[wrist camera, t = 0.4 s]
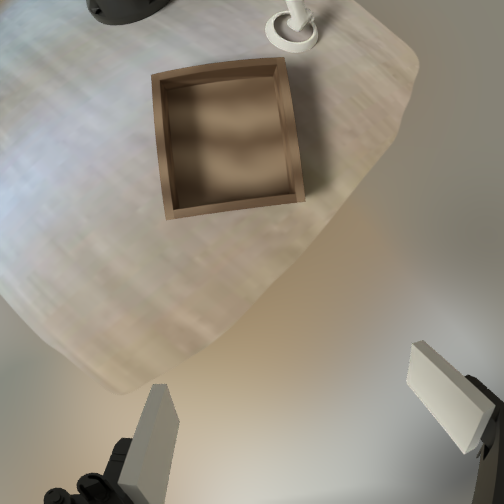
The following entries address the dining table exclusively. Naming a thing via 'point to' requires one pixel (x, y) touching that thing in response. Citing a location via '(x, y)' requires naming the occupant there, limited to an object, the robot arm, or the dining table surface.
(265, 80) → the wooden tray
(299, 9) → the hook
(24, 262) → the dining table surface
